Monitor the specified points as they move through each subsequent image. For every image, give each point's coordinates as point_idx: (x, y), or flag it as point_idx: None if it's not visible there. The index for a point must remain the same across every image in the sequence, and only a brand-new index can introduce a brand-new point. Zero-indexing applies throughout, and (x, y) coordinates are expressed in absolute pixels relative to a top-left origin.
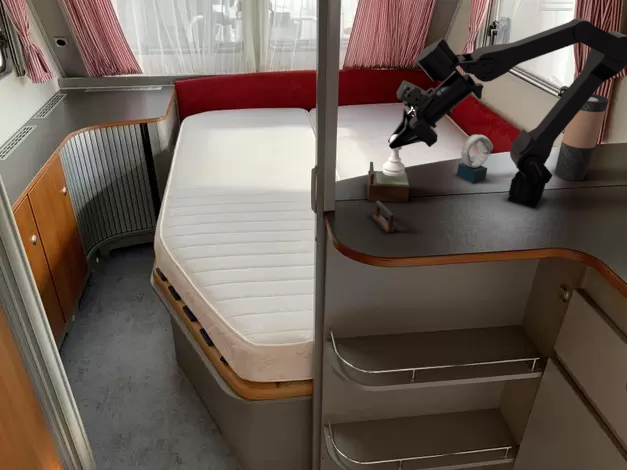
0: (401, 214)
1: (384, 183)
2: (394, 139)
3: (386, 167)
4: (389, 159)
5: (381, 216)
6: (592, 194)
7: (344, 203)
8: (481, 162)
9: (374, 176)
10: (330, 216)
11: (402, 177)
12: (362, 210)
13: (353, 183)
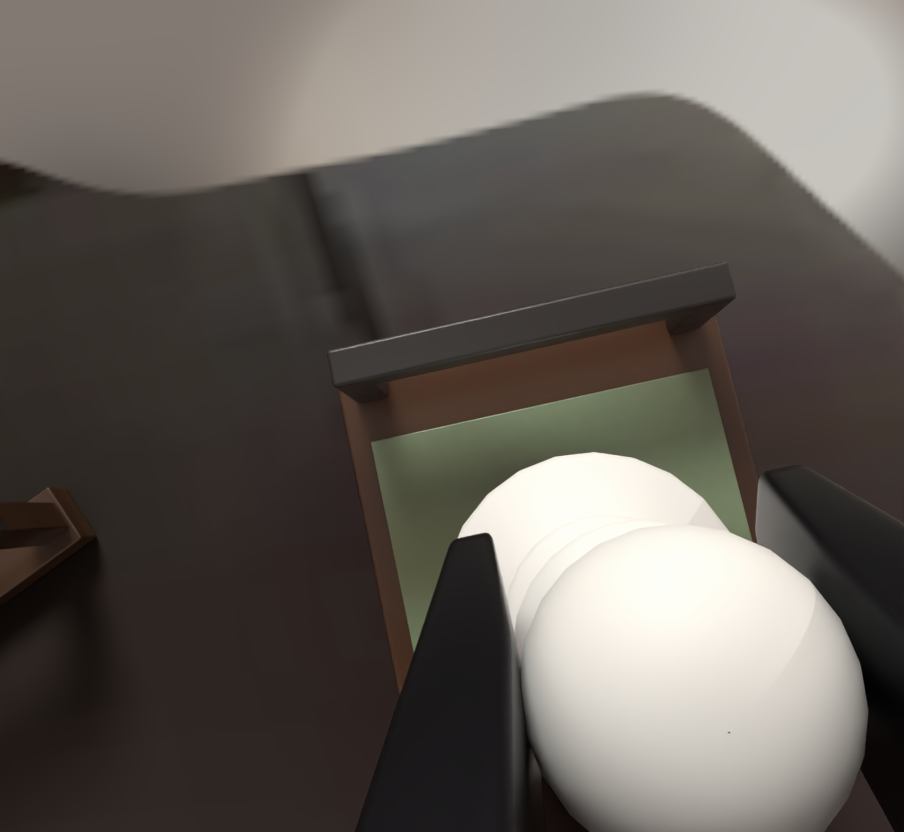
0: (192, 715)
1: (390, 519)
2: (441, 689)
3: (484, 516)
4: (551, 546)
5: (32, 562)
6: None
7: (259, 214)
8: None
9: (564, 378)
10: (11, 166)
11: None
12: (175, 382)
13: (680, 195)
